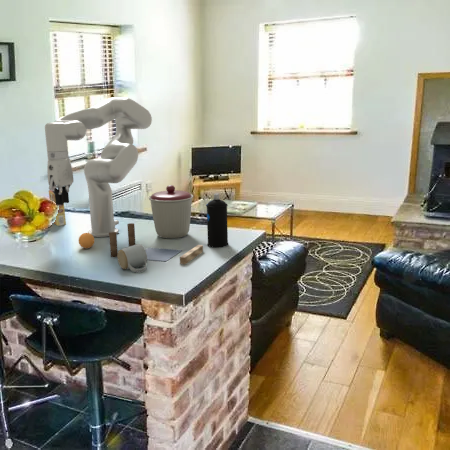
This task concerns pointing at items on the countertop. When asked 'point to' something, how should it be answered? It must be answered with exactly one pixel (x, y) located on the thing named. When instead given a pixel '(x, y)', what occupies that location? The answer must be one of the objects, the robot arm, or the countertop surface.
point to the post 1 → (113, 244)
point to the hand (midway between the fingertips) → (62, 203)
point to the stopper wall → (191, 254)
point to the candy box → (61, 212)
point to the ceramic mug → (132, 258)
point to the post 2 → (131, 234)
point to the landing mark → (160, 254)
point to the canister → (171, 212)
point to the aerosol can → (217, 223)
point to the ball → (86, 240)
